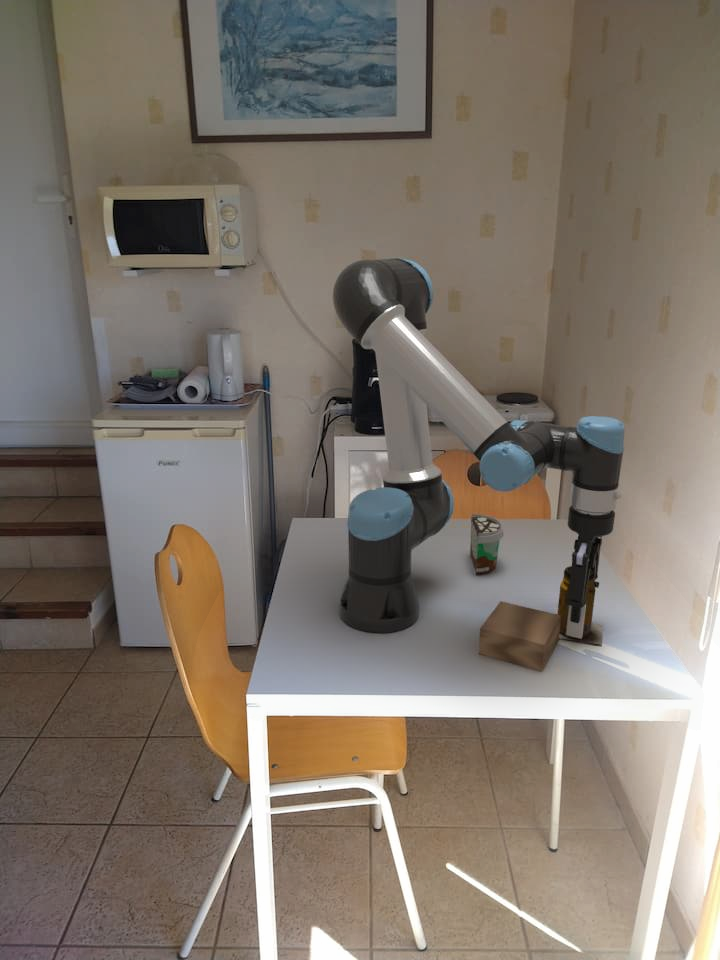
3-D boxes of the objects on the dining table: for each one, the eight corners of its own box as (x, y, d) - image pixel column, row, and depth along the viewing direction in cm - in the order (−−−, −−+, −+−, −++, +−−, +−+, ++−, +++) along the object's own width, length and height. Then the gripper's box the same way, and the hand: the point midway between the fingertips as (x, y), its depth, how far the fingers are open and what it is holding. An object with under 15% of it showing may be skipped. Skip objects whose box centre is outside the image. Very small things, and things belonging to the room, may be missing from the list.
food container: (505, 578, 150) (508, 534, 147) (476, 578, 150) (478, 534, 147) (496, 554, 162) (499, 513, 159) (469, 554, 162) (471, 513, 159)
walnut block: (478, 653, 123) (480, 628, 121) (498, 625, 132) (500, 601, 130) (542, 671, 118) (544, 644, 116) (558, 640, 127) (561, 615, 125)
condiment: (555, 618, 134) (561, 560, 130) (603, 626, 131) (610, 567, 127) (551, 637, 127) (558, 577, 124) (601, 646, 125) (609, 584, 121)
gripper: (604, 530, 112) (588, 658, 119) (624, 495, 128) (609, 609, 135) (556, 521, 116) (543, 646, 123) (582, 488, 131) (569, 600, 139)
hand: (578, 627), depth 129 cm, fingers closed on condiment, 6 cm apart
